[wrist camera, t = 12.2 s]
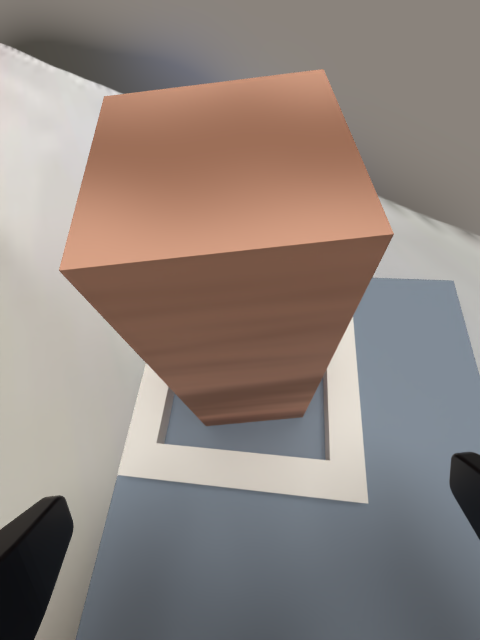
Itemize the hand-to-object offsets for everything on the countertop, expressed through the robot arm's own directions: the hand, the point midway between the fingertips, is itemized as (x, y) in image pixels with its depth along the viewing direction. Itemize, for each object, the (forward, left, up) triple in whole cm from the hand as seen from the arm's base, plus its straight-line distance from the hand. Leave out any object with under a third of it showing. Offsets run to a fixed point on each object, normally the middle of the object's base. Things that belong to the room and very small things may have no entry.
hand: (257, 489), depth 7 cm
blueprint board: (+1, -2, -9) cm, 10 cm away
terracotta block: (+6, +1, -8) cm, 10 cm away
